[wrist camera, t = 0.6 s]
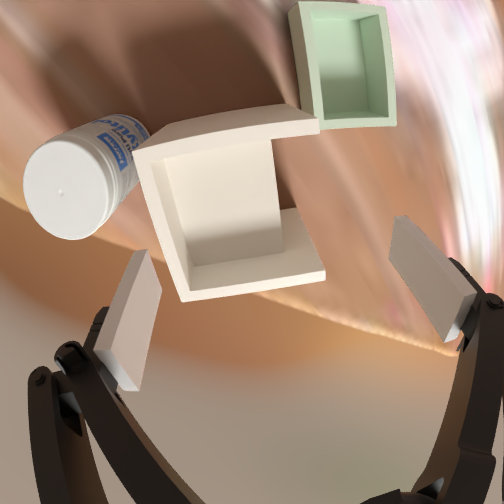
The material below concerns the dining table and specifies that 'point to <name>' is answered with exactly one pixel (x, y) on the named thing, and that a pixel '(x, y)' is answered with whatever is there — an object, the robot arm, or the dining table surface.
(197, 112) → the dining table surface
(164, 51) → the dining table surface
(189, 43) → the dining table surface
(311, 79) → the tray
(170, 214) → the box
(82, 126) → the supplement tub
